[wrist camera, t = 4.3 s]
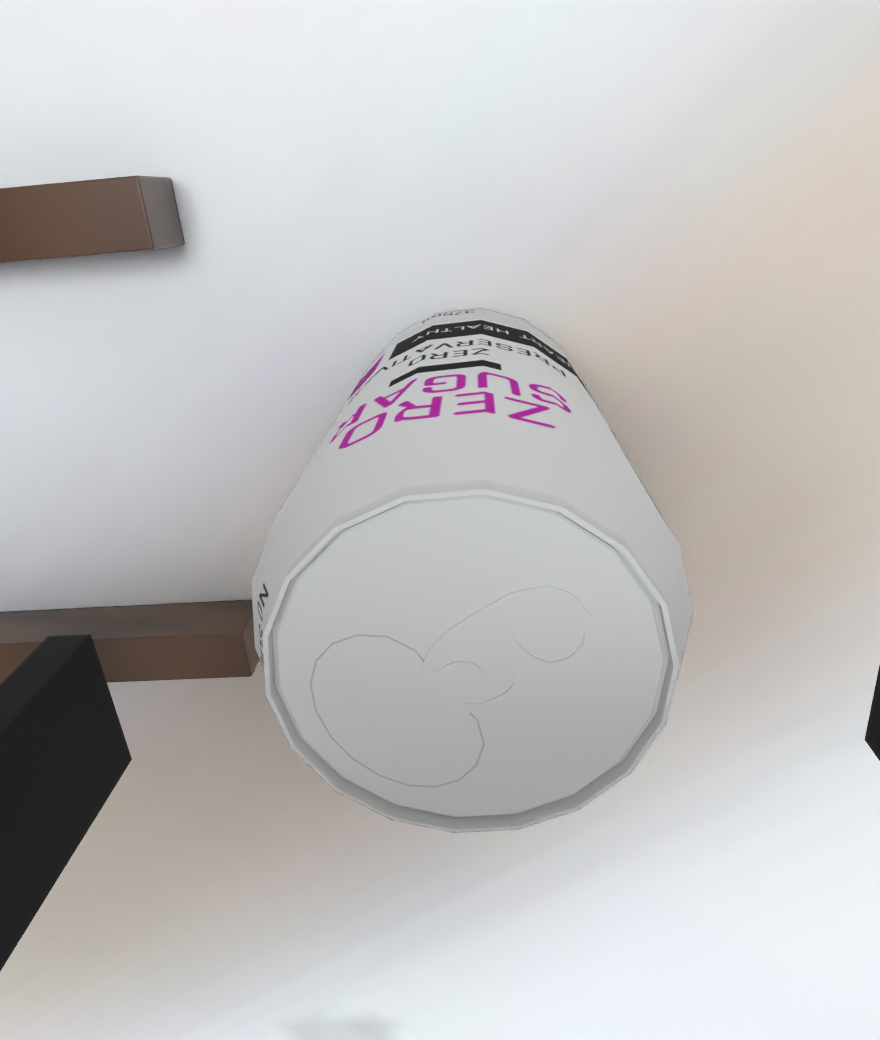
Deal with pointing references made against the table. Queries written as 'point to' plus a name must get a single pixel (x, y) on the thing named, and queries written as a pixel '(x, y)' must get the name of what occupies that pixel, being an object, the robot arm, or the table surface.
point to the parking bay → (127, 629)
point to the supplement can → (470, 588)
